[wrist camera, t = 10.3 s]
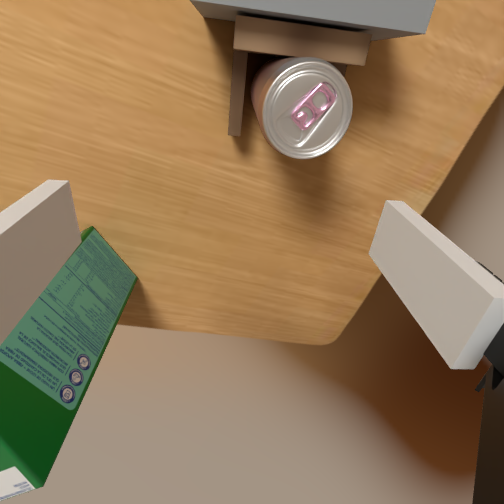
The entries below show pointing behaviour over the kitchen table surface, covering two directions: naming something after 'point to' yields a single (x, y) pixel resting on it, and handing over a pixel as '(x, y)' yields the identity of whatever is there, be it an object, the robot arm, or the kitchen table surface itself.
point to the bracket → (288, 51)
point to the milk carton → (56, 360)
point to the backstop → (331, 14)
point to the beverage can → (301, 105)
